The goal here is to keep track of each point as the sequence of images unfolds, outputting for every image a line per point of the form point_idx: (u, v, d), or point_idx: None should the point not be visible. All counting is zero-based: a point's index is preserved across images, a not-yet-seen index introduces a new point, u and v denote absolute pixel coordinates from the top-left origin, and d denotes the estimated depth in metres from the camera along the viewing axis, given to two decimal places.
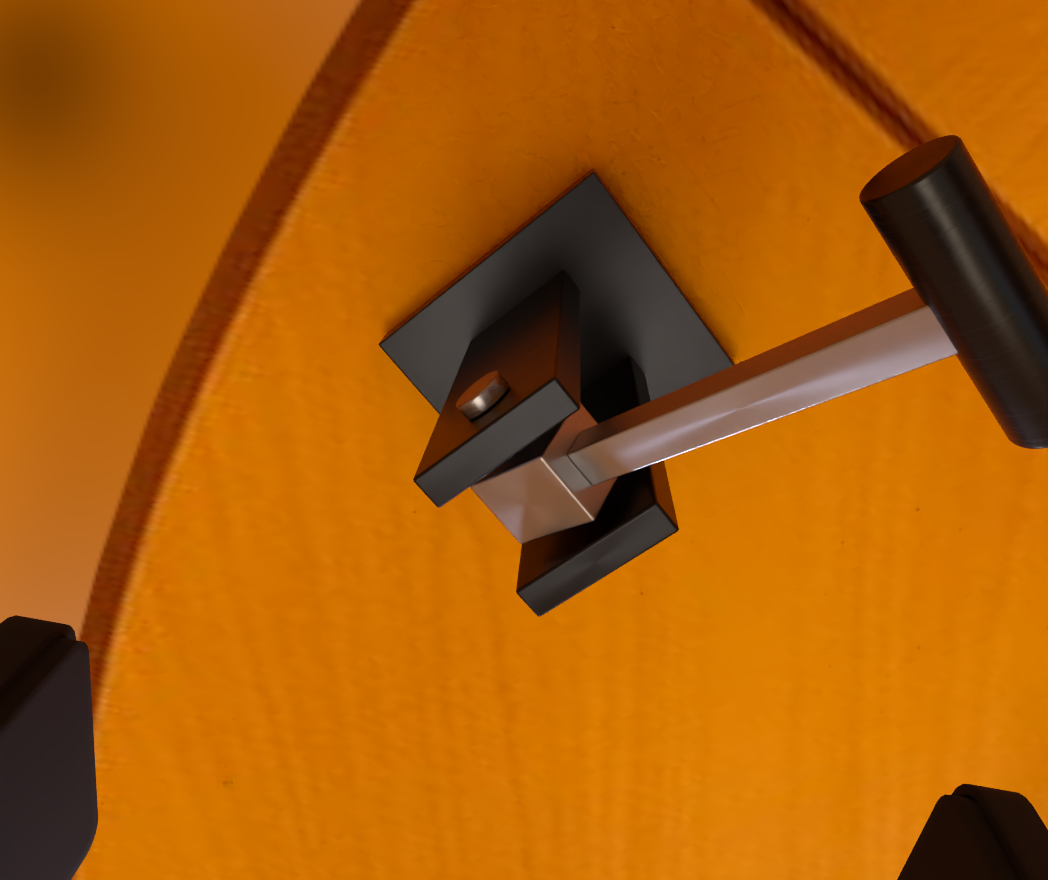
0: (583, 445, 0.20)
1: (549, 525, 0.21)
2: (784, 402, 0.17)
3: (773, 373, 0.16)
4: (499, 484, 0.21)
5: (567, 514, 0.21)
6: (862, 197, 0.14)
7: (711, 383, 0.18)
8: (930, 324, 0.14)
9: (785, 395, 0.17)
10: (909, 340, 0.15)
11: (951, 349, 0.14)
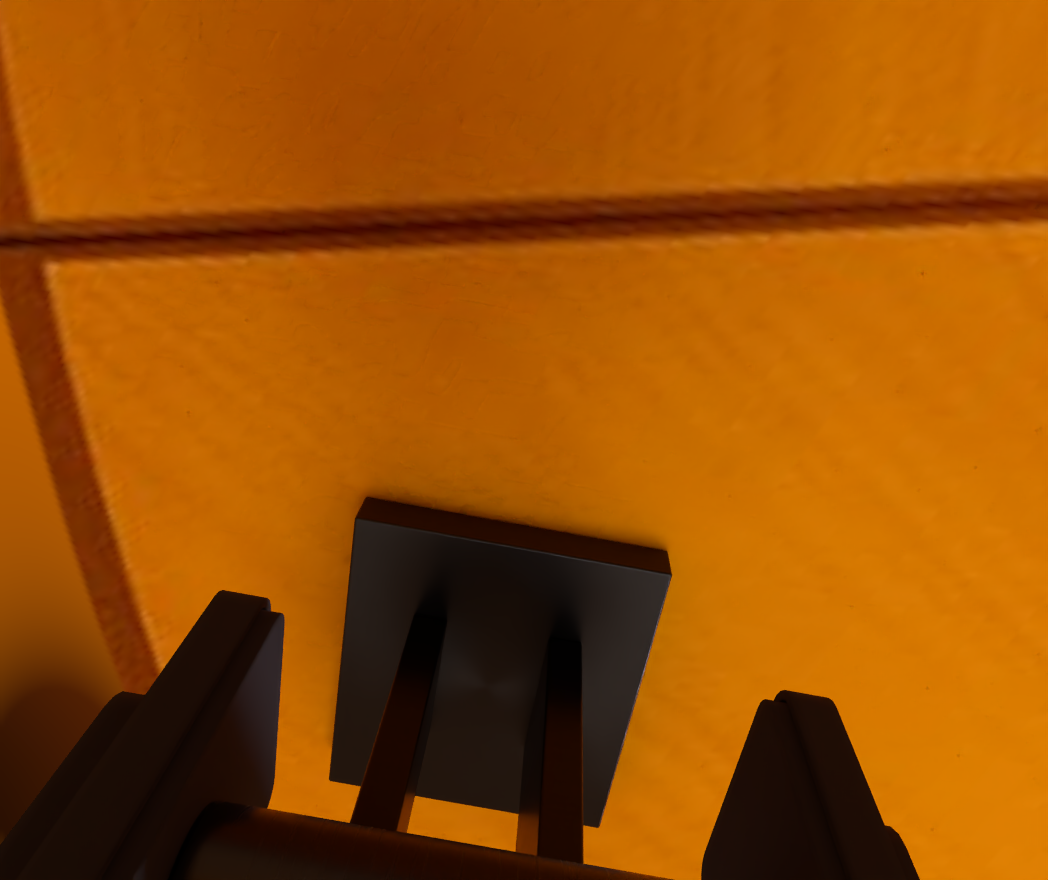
0: None
1: None
2: None
3: None
4: None
5: None
6: None
7: None
8: None
9: None
10: None
11: None
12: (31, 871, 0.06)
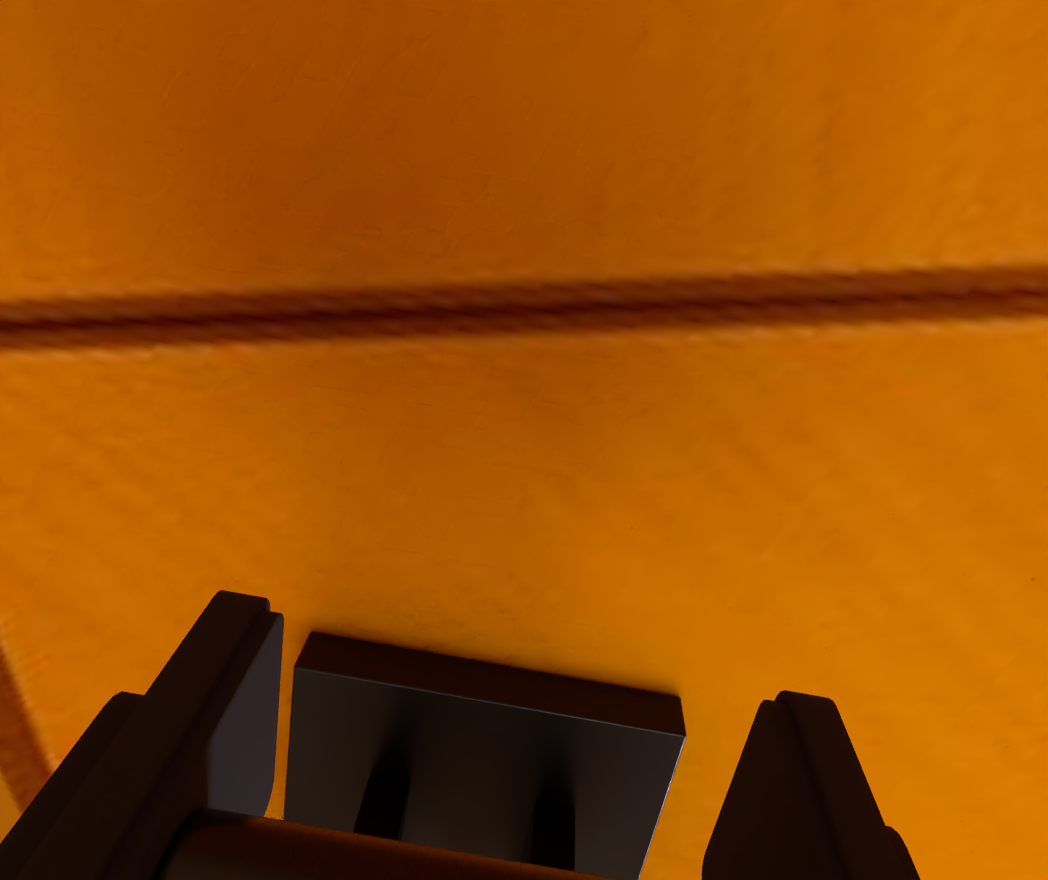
0: None
1: None
2: None
3: None
4: None
5: None
6: None
7: None
8: None
9: None
10: None
11: None
12: (30, 871, 0.06)
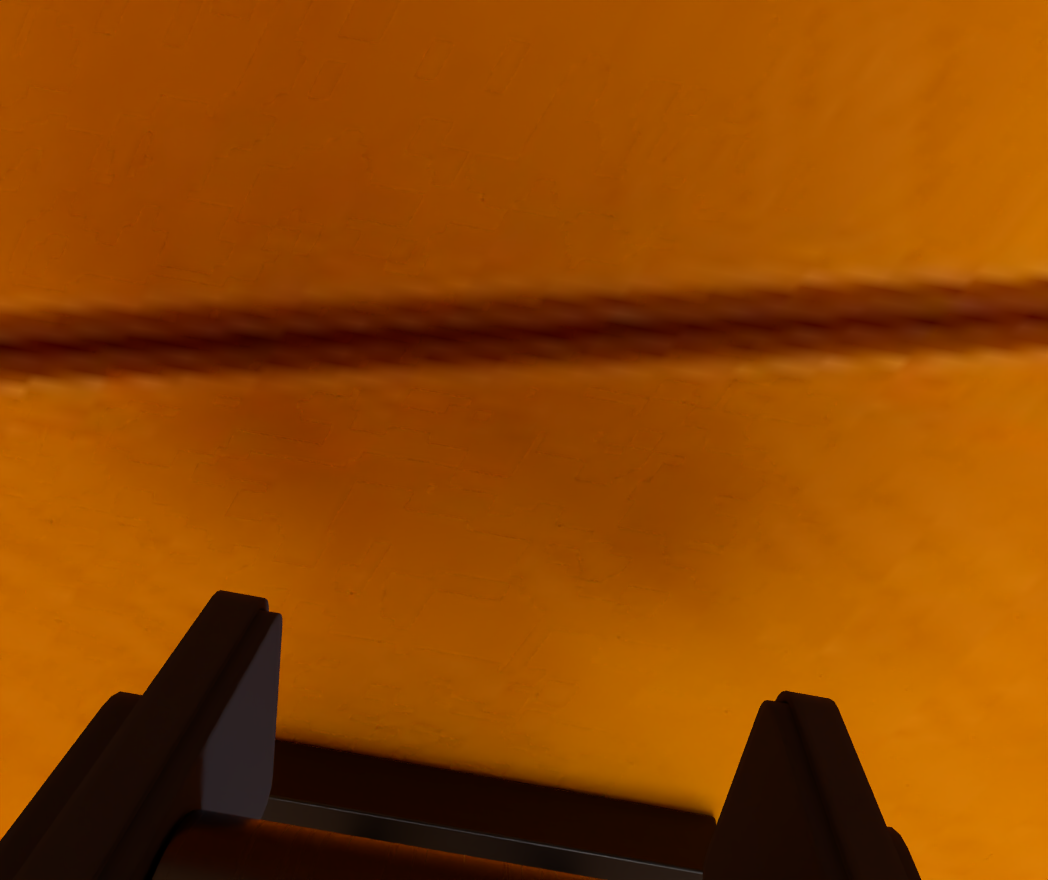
0: None
1: None
2: None
3: None
4: None
5: None
6: None
7: None
8: None
9: None
10: None
11: None
12: (27, 871, 0.06)
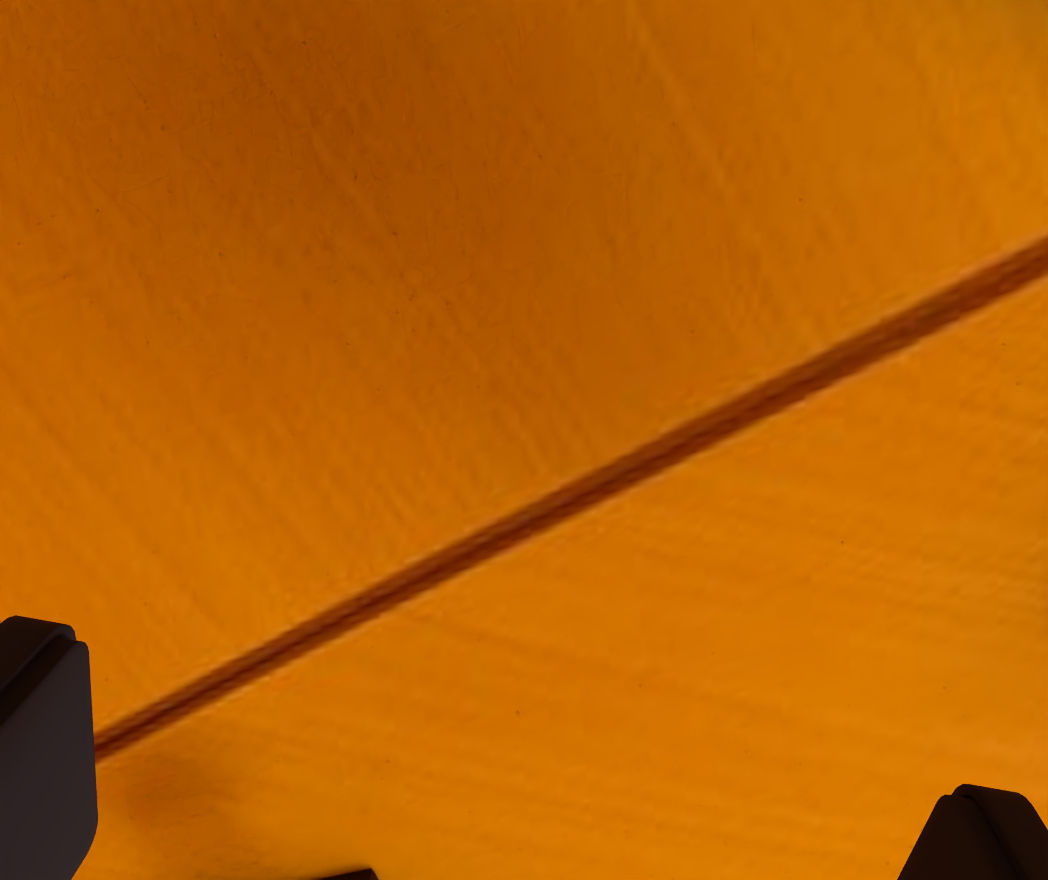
0: None
1: None
2: None
3: None
4: None
5: None
6: None
7: None
8: None
9: None
10: None
11: None
12: None
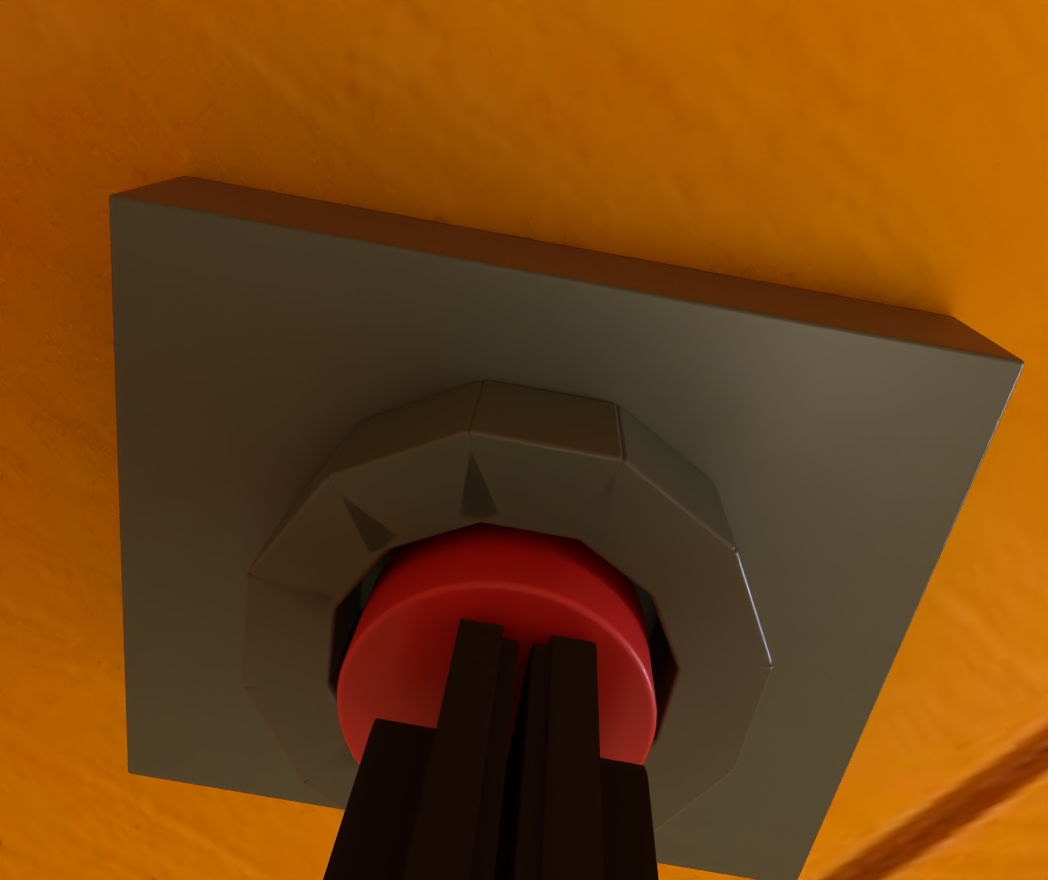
0: None
1: None
2: None
3: None
4: None
5: None
6: None
7: None
8: None
9: None
10: None
11: None
12: None
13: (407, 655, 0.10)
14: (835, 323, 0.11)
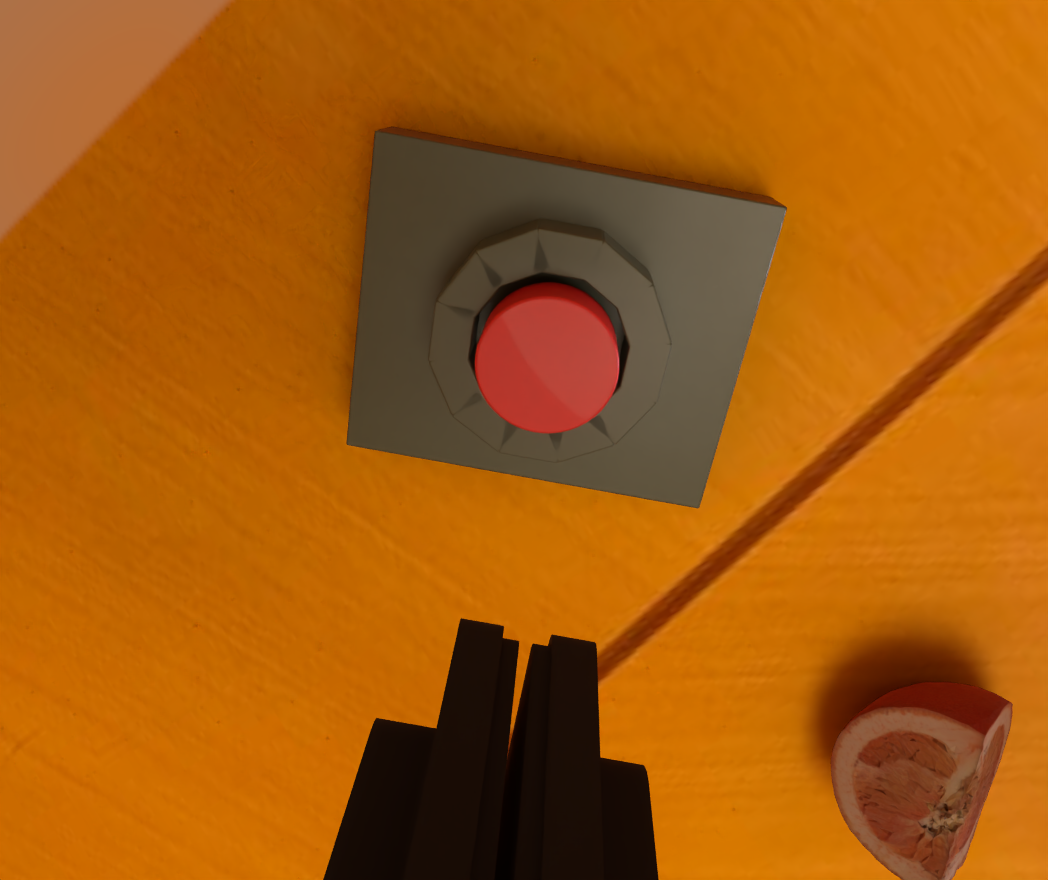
0: None
1: None
2: None
3: None
4: None
5: None
6: None
7: None
8: None
9: None
10: None
11: None
12: None
13: (508, 334, 0.22)
14: (702, 190, 0.24)
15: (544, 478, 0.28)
